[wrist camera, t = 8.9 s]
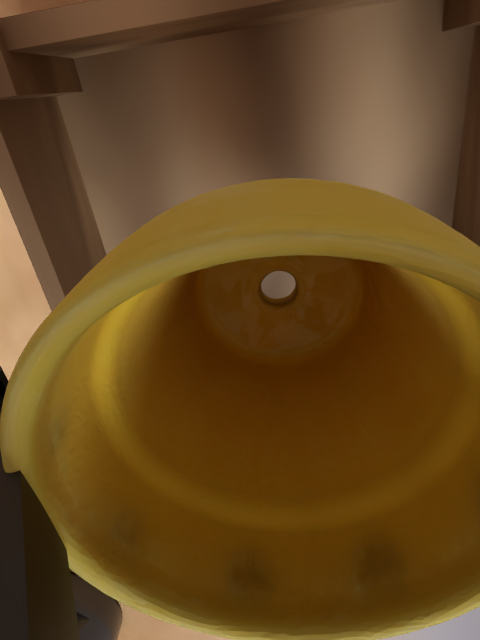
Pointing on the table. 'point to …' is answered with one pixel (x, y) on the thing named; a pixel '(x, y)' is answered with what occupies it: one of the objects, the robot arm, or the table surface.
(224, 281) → the plant pot
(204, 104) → the walnut crate
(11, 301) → the table surface
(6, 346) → the table surface
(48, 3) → the table surface
